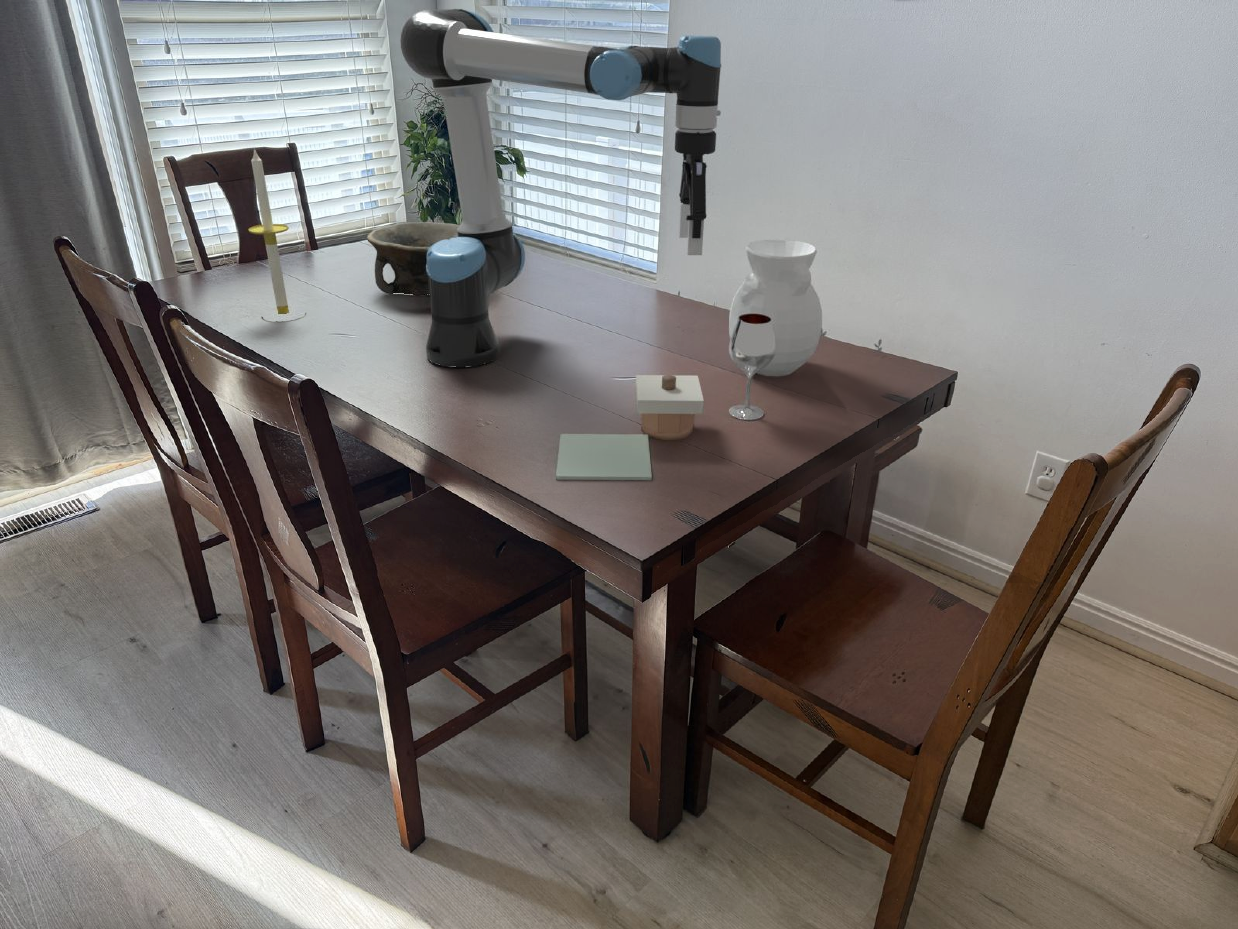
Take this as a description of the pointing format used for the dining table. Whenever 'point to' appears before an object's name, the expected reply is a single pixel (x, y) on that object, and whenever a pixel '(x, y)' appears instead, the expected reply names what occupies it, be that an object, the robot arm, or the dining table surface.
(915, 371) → the dining table surface
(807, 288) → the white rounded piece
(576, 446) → the mat
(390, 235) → the bowl
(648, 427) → the pot
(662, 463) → the dining table surface
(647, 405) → the lid
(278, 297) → the candle
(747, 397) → the wineglass
